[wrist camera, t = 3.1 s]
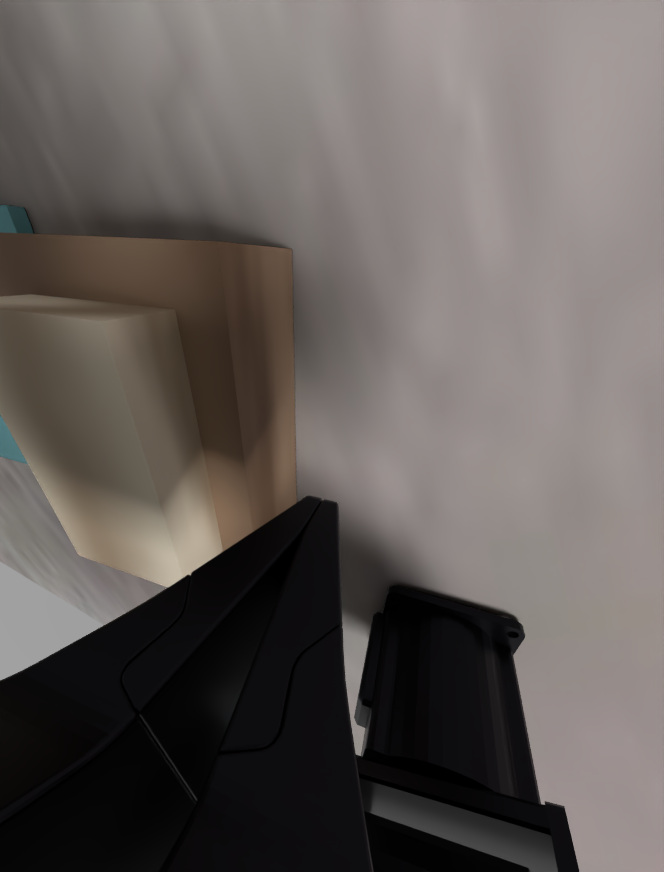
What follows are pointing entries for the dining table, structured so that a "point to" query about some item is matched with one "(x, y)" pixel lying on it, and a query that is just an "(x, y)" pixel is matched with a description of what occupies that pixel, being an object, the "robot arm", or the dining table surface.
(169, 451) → the birch tile
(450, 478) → the dining table surface
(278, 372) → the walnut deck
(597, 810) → the dining table surface
